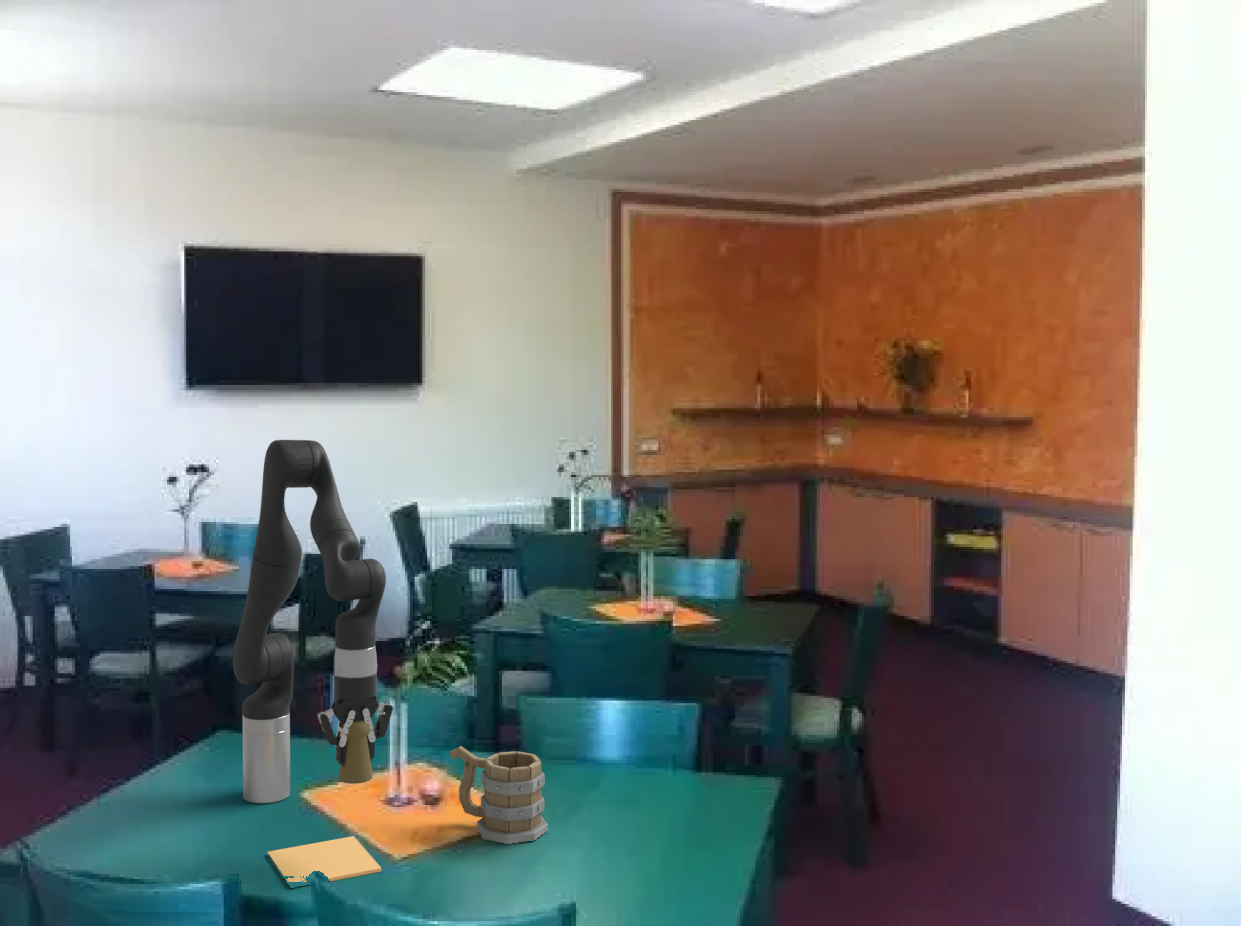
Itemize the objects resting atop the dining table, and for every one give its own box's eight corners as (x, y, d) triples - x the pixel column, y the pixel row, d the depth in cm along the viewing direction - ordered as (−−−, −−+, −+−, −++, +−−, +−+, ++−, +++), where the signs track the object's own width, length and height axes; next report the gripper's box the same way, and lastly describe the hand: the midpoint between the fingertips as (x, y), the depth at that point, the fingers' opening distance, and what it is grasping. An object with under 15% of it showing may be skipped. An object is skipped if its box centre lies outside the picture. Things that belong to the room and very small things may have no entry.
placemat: (267, 855, 226) (267, 851, 226) (353, 839, 234) (353, 836, 234) (290, 889, 212) (290, 886, 212) (381, 871, 220) (381, 868, 220)
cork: (365, 785, 222) (365, 724, 221) (333, 782, 223) (333, 722, 222) (377, 773, 228) (377, 714, 227) (346, 770, 229) (346, 712, 228)
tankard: (556, 825, 242) (558, 750, 241) (524, 849, 231) (525, 770, 230) (468, 807, 251) (469, 735, 249) (433, 829, 239) (434, 753, 238)
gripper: (385, 661, 231) (385, 751, 232) (309, 670, 223) (310, 763, 225) (400, 670, 224) (400, 763, 226) (323, 680, 217) (323, 776, 219)
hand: (355, 762), depth 225 cm, fingers closed on cork, 4 cm apart
